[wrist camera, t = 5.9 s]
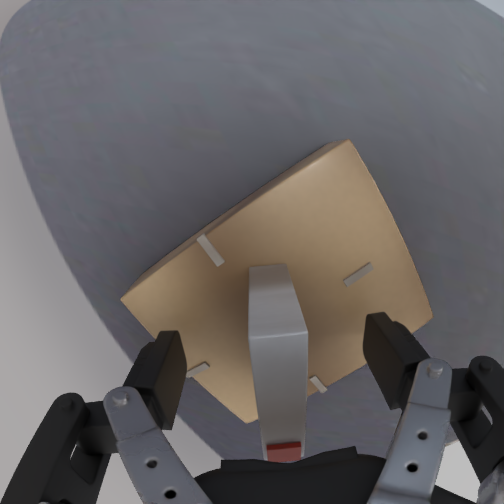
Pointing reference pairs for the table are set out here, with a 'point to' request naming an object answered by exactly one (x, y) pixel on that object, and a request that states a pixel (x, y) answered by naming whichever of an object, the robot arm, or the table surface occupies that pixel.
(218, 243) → the panel
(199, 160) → the table surface
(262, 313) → the tap lever
